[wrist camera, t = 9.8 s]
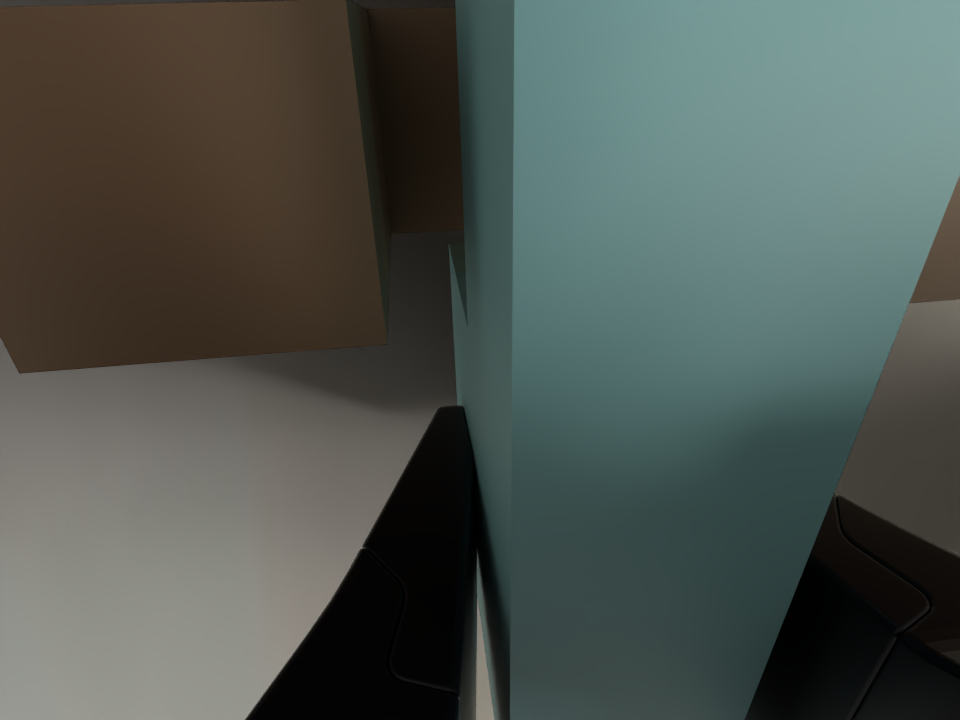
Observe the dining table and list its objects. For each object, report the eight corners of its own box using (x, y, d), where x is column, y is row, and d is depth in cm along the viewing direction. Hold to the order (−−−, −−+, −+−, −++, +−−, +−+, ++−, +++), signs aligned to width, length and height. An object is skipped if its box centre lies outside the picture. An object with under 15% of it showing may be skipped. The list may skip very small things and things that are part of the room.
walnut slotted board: (1325, -10, 10) (2235, -43, 5) (1235, 136, 12) (1897, 225, 6) (175, 19, 8) (-166, 11, 3) (218, 188, 10) (19, 373, 5)
